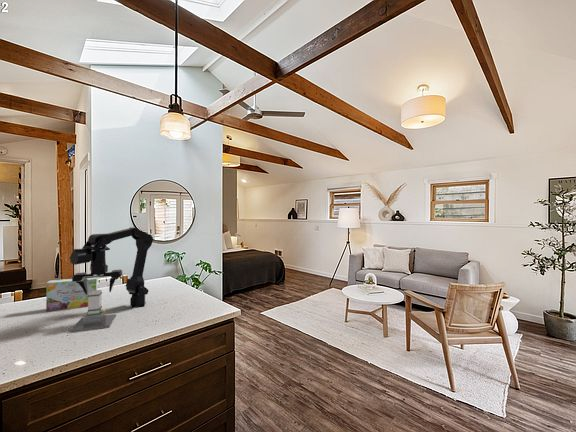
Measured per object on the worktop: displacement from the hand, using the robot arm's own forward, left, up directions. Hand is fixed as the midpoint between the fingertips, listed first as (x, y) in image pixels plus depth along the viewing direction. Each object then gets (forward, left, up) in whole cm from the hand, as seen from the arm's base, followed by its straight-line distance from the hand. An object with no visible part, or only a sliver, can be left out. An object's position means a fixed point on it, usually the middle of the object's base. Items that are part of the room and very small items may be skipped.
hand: (98, 293), depth 125 cm
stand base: (0, +5, -13) cm, 14 cm away
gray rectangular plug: (0, +5, -8) cm, 9 cm away
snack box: (+17, -25, -13) cm, 33 cm away
